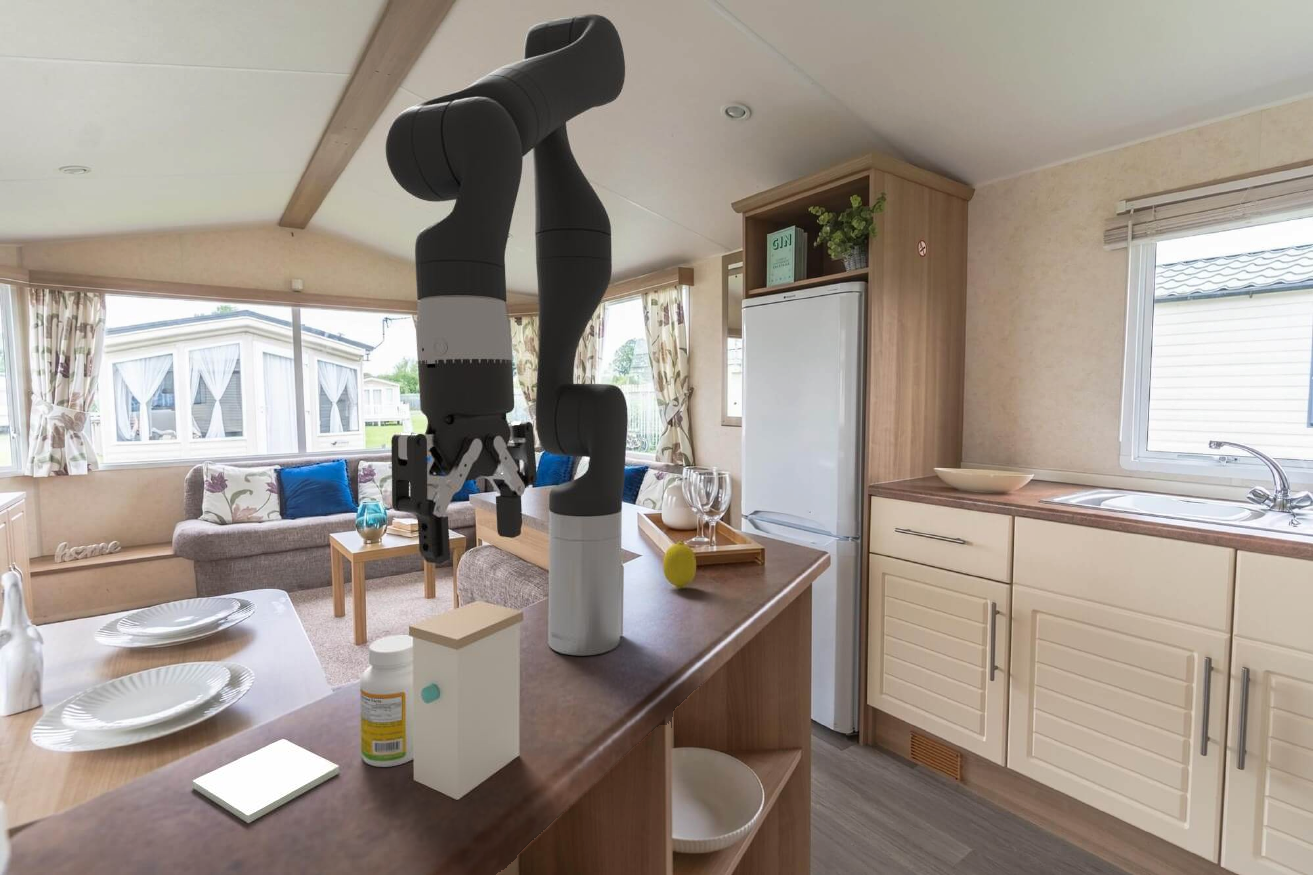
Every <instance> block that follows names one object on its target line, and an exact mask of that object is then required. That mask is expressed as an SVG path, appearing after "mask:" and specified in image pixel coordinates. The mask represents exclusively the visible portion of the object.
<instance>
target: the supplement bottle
mask: <svg viewBox="0 0 1313 875" xmlns="http://www.w3.org/2000/svg"><path fill="white" fill-rule="evenodd" d="M368 663H369V665H370V666H368V667H367V668H365V670H364V671H363V672H362V674H361V677H360V685H359V688H360V690H359V691H360V698H359V699H360V751H361V752H360V753H361V758H362V760H363V762H365V763H366V764H368V765H369V766H373V767H377V768H378V767H379V768H381V767H382V768H386V767H387V768H388V767H395V766H400V765H402V764H406V763H408V762H410V761H413V760H414V747H413V637H412V636H409V635H408V634H397V635H396V634H395V635H391V636H390V635H389V636H385V637H382V638H379V639H376V640H375V641H373V642H372V643H371V644H369V648H368Z"/></svg>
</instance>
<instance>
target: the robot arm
mask: <svg viewBox="0 0 1313 875" xmlns="http://www.w3.org/2000/svg"><path fill="white" fill-rule="evenodd" d="M523 45H524V46H523V59H521V60H518V61H514V62H513V63H512V62H511V63H509V64H505V65H503V66H501V67H499V68H497V69H494V70H493V71H491V72H489V73H488V74H486V75H484V76H482V77H481V78H479V79H477V80H476V81H475V82H473V83H472V84H470V85H469V86H467V87H465V88H462V89H459V90H458V91H454V92H451V93H448V94H444V95H441V96H438V97H434V98H432V99H428V100H425V101H423V102H420V103H417V104H415V105H413V106H410V107H408V108H406V109H405V110H403V111H402V112H400V113H398V114H397V116H396V117H395V118H394V119H393V120H392V123H391V124H390V126H389V128H388V131H387V134H386V137H385V138H386V139H385V146H384V148H385V157H386V162H387V164H388V165H387V166H388V168H389V171H390V173H391V175H392V177H393V178H394V180H395V181H396V182H397V183H398V185H399V186H400V187H401V188H402V189H403V190H405V192H407V193H408V194H410V195H411V196H412V197H415V198H417V199H420V200H422V201H427V202H435V203H436V202H449V201H454V200H455V203H454V206H453V209H452V211H451V212H450V213H449V214H448V215H447V216H446V217H444V218H443V219H441V220H439V221H437V222H435V223H433V224H431V225H430V224H429V226H426V227H424V228H423V229H421V231H420V232H419V233H418V234H417V236H416V239H415V243H414V244H415V245H414V246H415V247H414V257H415V258H414V259H415V262H414V263H415V278H416V296H417V297H416V298H417V300H418V301H417V313H416V325H415V334H416V336H415V338H416V352H417V369H418V374H417V375H418V387H419V388H418V390H419V407H420V411H421V413H422V414H423V415H425V418H426V420H427V424H426V429H425V432H424V433H415V432H396V433H394V434H393V436H392V437H391V443H390V444H391V447H390V448H391V506H392V507H391V508H392V509H393V510H394V511H395V512H399V513H400V512H402V513H407V514H408V513H409V514H413V515H414V516H415V517H416V519H417V532H418V548H419V552H420V556H421V557H423V558H424V560H425V562H427V563H430V564H431V563H432V564H438V565H441V564H444V563H447V562H449V561H450V558H451V548H450V547H451V546H450V532H449V530H450V528H449V527H450V526H449V516H448V515H445V514H446V512H447V510H448V507H449V505H450V503H451V502H452V499H453V497H454V495H455V494H457V493H458V492H459V491H461V489H462V488H463V485H464V484H465V482H469V481H473V480H474V481H475V480H476V479H478V478H480V477H482V478H484V479H486V480H488V481H489V482H490V484H491V485H492V487H493V488H494V490H495V491H496V493H497V494H499V495H496V496H495V508H496V509H495V511H496V512H495V514H496V531H497V534H498V536H499V537H502V538H503V537H504V538H511V539H513V538H517V537H519V536H521V533H522V526H523V517H522V516H523V509H522V508H523V507H522V496H523V495H524V493H525V490H526V488H528V487H529V486H535V485H536V484H537V481H538V472H537V461H536V448H535V447H536V446H535V436H534V426H533V423H532V422H531V421H508V419H507V414H509V413H511V412H513V410H514V409H515V392H514V391H515V390H514V389H515V388H514V370H513V369H514V368H513V367H514V366H513V364H514V363H513V344H512V342H513V341H512V328H511V322H510V316H509V310H508V304H507V303H508V302H507V282H506V280H507V278H506V259H505V258H506V256H505V255H506V248H507V244H508V239H509V235H510V230H511V223H512V220H513V214H514V210H515V205H516V202H517V197H518V193H519V190H520V186H521V185H520V184H521V181H522V180H521V178H522V172H523V161H524V160H523V159H524V158H523V157H524V156H526V155H527V154H528V153H529V152H530V151H532V159H533V174H534V175H533V176H534V198H535V199H534V204H535V205H534V209H535V212H534V213H535V216H534V217H535V220H534V222H535V224H534V225H535V227H534V228H535V229H534V231H535V232H534V235H535V262H536V263H535V264H536V276H537V277H536V278H537V279H536V280H537V295H538V298H537V300H538V303H537V304H538V350H537V352H538V355H537V375H536V390H535V391H536V392H535V393H536V395H535V426H536V433H537V437H538V441H539V444H540V446H541V447H542V449H543V450H544V452H546V453H547V454H550V455H554V456H563V457H564V456H565V457H584V458H585V457H589V460H588V466H587V470H586V471H585V472H584V473H583V474H582V475H580V476H579V477H577V478H575V479H573V480H570V481H567V482H564V483H561V484H558V485H555V486H553V487H552V488H551V490H550V492H549V497H548V498H549V499H548V501H549V502H548V505H549V506H548V514H549V515H548V538H549V539H548V622H547V625H548V627H547V628H548V632H547V633H548V634H547V635H548V636H547V639H548V640H547V641H548V642H547V644H548V646H549V648H550V649H552V650H554V651H555V652H558V653H560V654H563V655H568V656H570V655H571V656H585V657H586V656H595V655H599V654H604V653H607V652H609V651H612V650H614V649H616V648H617V647H618V645H620V643H621V636H623V635H624V585H625V584H624V583H625V582H624V579H625V578H624V577H625V576H624V575H625V571H624V570H625V567H624V565H623V564H622V535H623V534H622V525H623V524H622V523H623V522H622V519H623V518H622V517H623V515H622V514H623V511H622V510H623V494H624V488H625V477H626V474H625V473H626V470H625V469H626V454H627V453H626V452H627V443H628V442H627V438H628V426H629V425H628V423H629V422H628V421H629V418H628V417H629V416H628V413H629V412H628V404H627V400H626V397H625V394H624V393H623V391H622V389H621V388H620V387H618V386H617V385H615V384H608V383H607V384H606V383H605V384H603V383H574V381H575V380H574V372H575V360H576V356H577V355H576V354H577V350H578V347H579V344H580V341H581V338H582V336H583V334H584V332H585V330H586V329H587V326H588V324H589V323H590V321H591V319H592V318H593V316H594V314H595V312H596V310H597V308H598V307H599V305H601V304H600V303H601V302H602V300H603V298H604V296H605V294H606V292H607V290H608V288H609V284H610V282H611V280H612V279H611V278H612V273H613V271H612V270H613V264H612V262H613V261H612V260H613V259H612V258H613V257H612V255H613V254H612V226H611V221H610V218H609V215H608V213H607V210H606V208H605V206H604V205H603V202H602V201H601V198H599V196H598V194H597V192H596V191H595V190H594V188H593V186H592V185H591V183H590V181H589V180H588V179H587V177H586V176H585V174H584V173H583V171H582V169H581V168H580V166H579V163H577V160H576V158H575V156H574V153H573V151H572V149H571V145H570V141H569V137H568V130H567V122H569V121H570V120H572V119H573V118H575V117H577V116H578V115H581V114H582V113H585V112H586V111H589V110H590V109H592V108H597V107H602V106H605V105H607V104H610V103H612V102H613V101H615V100H616V99H617V98H619V96H620V95H621V92H622V90H623V88H624V85H625V78H626V62H625V60H626V59H625V55H624V49H623V44H622V41H621V38H620V35H619V32H618V30H617V28H616V27H615V25H614V24H613V22H612V21H611V20H610V19H608V18H607V17H605V16H603V15H600V14H594V13H591V14H590V13H589V14H581V15H575V16H569V17H562V18H557V19H553V20H548V21H542V22H540V23H536V24H534V25H532V26H531V27H529V29H528V30H527V34H526V36H525V39H524V44H523ZM428 458H429V461H428ZM520 460H521V461H522V462H523V471H521V463H520ZM442 473H443V475H444V476H441V474H442Z"/></svg>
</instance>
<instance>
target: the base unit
mask: <svg viewBox="0 0 1313 875" xmlns="http://www.w3.org/2000/svg"><path fill="white" fill-rule="evenodd" d="M523 621H524V611H523V610H520V609H515V608H510V607H506V606H502V605H497V604H494V603H489V602H484V601H481V600H475V601H472V602H470V603H468V604H465V605H462V606H460V607H457V608H455V609H451V610H449V611H446V612H443V613H440V614H438V615H436V616H435V615H434V616H432V617H430V618H427V619H425V620H421V621H419V622H416V623H413V624H411V625H409V626H408V634H409V636H412V637H413V747H414V759H413V781H415V782H417V783H420V784H422V785H424V786H427V787H428V788H430V789H432V790H435V791H437V792H439V793H442V794H444V795H445V796H448V797H450V798H452V799H454V800H457V801H458V800H460V799H461V798H463V797H464V796H465V795H467V794H468V793H470V792H471V791H473V789H475V788H476V787H478V786H479V785H481V784H482V783H483V782H485V781H486V780H488V779H489V778H490V777H491V776H493V775H494V774H496V772H498V771H500V770H501V769H503V768H504V767H506V766H507V765H508V764H510V763H511V762H512V761H513V760H514V759H516V758H517V757H519V756H520V691H521V690H520V684H521V683H520V680H521V678H520V676H521V675H520V674H521V673H520V672H521V671H520V670H521V667H520V666H521V664H520V663H521V662H520V658H521V656H520V654H521V652H520V651H521V650H520V649H521V643H520V642H521V641H520V640H521V639H520V638H521V622H523Z"/></svg>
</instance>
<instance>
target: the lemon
mask: <svg viewBox="0 0 1313 875" xmlns="http://www.w3.org/2000/svg"><path fill="white" fill-rule="evenodd" d="M696 560H697V559H696V555H695V553H694V551H693V549H692V548H691V547H690V546H689V545H687V544H684V542H683V541H677V543H675V544H672V545H671V546H670V547H669V548H668V549H667V550H666V551H665V553H664V557H663V563H662V568H663V574H664V576H665V579H666V580H667V581H668V582H669V583H670V584H672V585H674V586H675V587H676V589H679V590H680V589H682V588H683V587H684V586H687V585H688V584H690V582H692V580H693V579H694V578H695V575H696V572H697V561H696Z"/></svg>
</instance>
